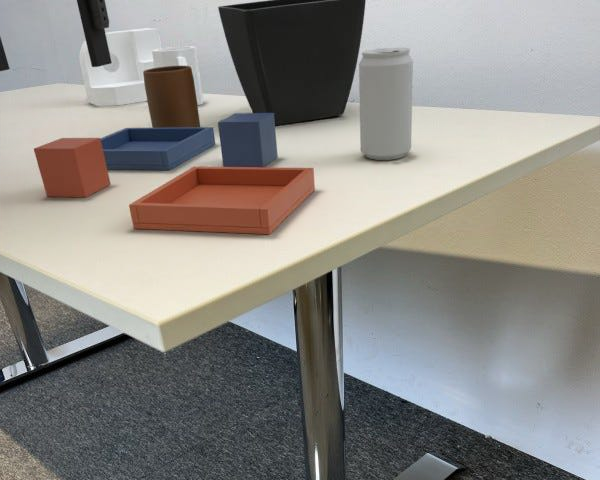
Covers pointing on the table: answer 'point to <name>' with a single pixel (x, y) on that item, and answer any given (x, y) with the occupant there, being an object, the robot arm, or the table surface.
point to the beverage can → (385, 103)
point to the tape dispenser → (121, 67)
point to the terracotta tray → (224, 200)
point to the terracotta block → (72, 167)
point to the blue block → (248, 139)
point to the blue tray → (155, 147)
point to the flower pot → (295, 54)
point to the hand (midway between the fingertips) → (49, 68)
